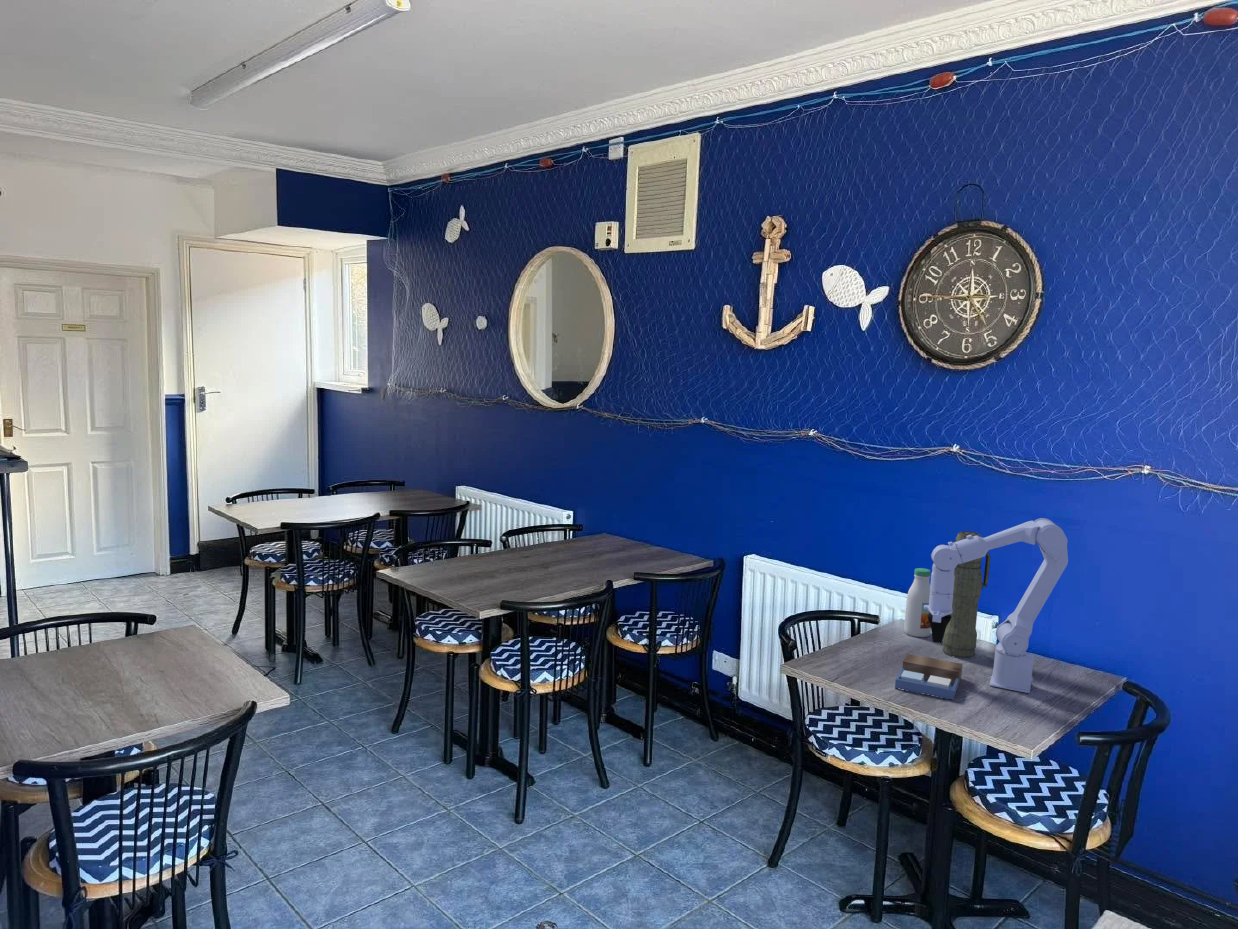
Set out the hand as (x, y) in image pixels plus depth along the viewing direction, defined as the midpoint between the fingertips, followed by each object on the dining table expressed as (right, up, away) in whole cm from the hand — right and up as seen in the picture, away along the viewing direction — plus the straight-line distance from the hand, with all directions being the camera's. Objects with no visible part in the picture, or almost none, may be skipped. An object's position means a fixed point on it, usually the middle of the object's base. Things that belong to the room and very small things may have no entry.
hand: (937, 642), depth 233 cm
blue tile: (-9, -7, -7) cm, 13 cm away
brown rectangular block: (-1, -9, 0) cm, 9 cm away
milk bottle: (+7, -5, +37) cm, 38 cm away
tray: (-5, -10, -8) cm, 14 cm away
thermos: (+13, -7, +20) cm, 25 cm away
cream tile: (-3, -8, -10) cm, 13 cm away
